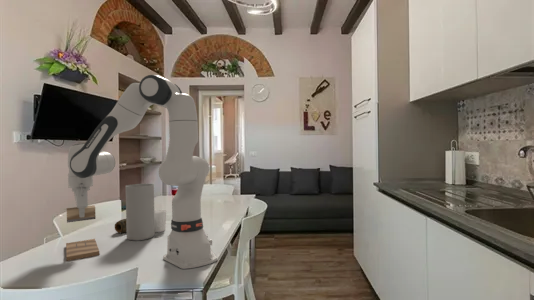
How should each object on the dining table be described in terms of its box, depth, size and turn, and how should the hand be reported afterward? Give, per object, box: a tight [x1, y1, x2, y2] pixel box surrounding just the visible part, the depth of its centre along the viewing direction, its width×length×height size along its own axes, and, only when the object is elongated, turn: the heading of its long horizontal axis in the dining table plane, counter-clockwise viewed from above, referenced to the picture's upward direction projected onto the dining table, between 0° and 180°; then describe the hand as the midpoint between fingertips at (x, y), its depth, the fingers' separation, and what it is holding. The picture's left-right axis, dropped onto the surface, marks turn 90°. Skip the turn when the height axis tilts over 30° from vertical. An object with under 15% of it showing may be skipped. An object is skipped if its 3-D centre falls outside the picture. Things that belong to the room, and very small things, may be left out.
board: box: [65, 238, 100, 262], centre depth 127 cm, size 21×11×2 cm, turn 34°
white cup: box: [154, 209, 167, 233], centre depth 157 cm, size 8×8×10 cm
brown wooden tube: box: [114, 218, 127, 234], centre depth 159 cm, size 15×7×7 cm, turn 166°
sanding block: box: [66, 204, 97, 223], centre depth 126 cm, size 5×10×5 cm, turn 124°
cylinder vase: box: [125, 183, 156, 241], centre depth 146 cm, size 12×12×25 cm
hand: (81, 215), depth 126 cm, fingers closed on sanding block, 5 cm apart
